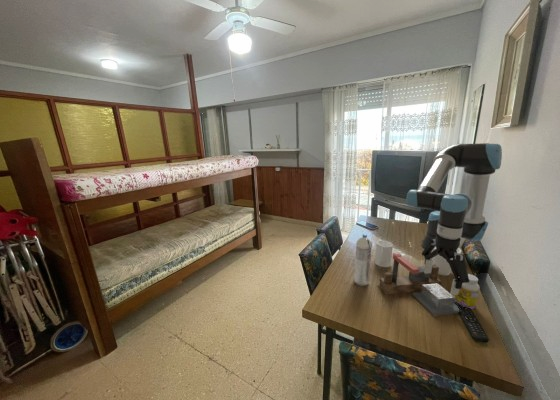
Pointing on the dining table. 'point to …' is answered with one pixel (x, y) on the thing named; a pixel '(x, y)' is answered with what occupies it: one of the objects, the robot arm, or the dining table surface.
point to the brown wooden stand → (408, 280)
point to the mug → (383, 253)
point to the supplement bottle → (468, 292)
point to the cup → (443, 263)
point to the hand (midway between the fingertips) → (439, 282)
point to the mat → (431, 308)
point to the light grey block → (437, 296)
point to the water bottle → (362, 261)
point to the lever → (405, 263)
